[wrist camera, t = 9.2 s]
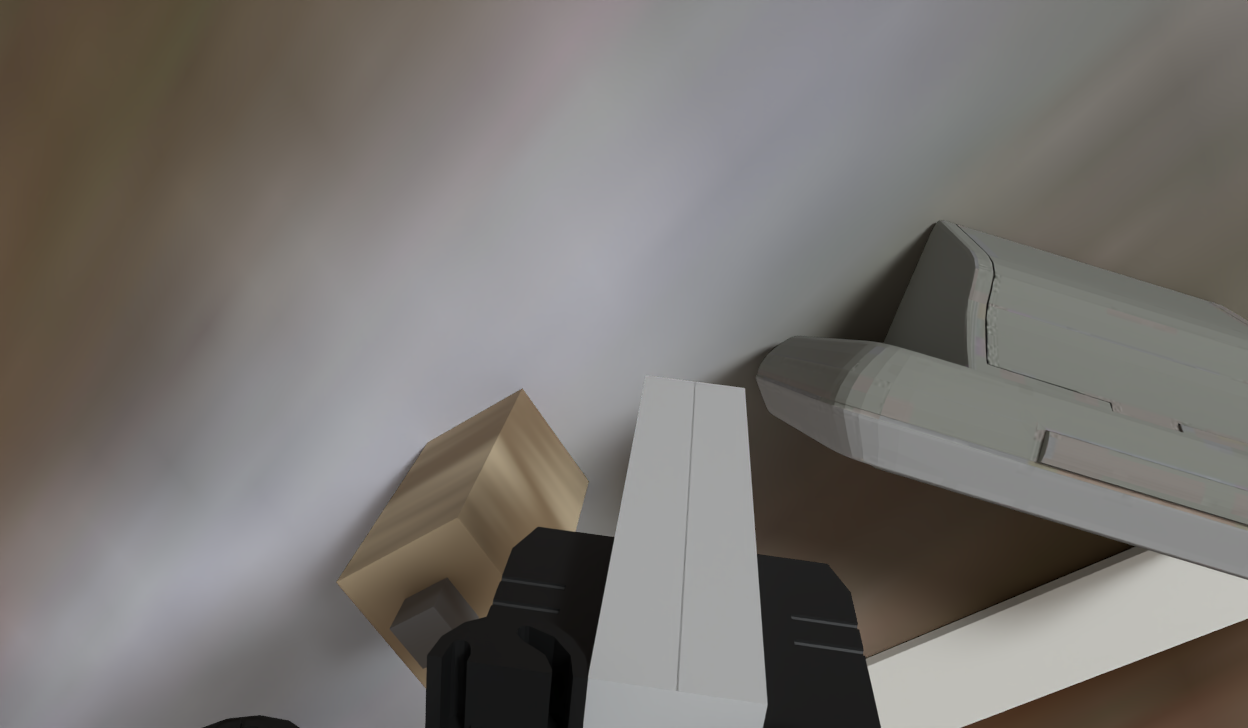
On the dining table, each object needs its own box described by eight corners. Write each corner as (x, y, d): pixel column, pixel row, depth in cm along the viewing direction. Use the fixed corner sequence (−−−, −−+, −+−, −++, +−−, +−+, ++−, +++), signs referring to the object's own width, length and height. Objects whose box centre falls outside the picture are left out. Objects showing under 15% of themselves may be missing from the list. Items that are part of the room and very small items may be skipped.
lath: (594, 771, 36) (593, 779, 35) (1643, 335, 26) (1657, 340, 25) (648, 838, 37) (647, 846, 36) (1675, 444, 27) (1688, 450, 26)
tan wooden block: (427, 442, 31) (316, 611, 22) (522, 388, 30) (443, 544, 21) (495, 530, 32) (414, 723, 23) (588, 481, 31) (539, 665, 22)
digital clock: (724, 371, 29) (728, 562, 19) (883, 114, 25) (989, 186, 16) (1144, 591, 30) (1350, 874, 20) (1348, 376, 27) (1710, 592, 17)
